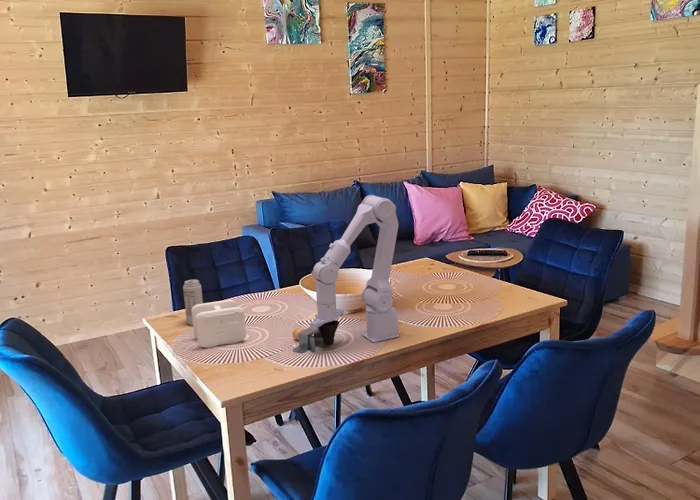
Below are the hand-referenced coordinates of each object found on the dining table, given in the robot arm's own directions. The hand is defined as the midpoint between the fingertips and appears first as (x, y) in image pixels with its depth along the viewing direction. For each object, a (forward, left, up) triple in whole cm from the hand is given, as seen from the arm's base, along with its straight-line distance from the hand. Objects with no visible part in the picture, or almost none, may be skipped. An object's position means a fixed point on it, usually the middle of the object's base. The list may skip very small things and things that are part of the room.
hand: (328, 344), depth 197 cm
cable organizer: (+27, -24, -1) cm, 36 cm away
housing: (+2, -4, -1) cm, 5 cm away
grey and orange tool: (+3, -7, -1) cm, 8 cm away
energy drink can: (+30, -45, -1) cm, 54 cm away
